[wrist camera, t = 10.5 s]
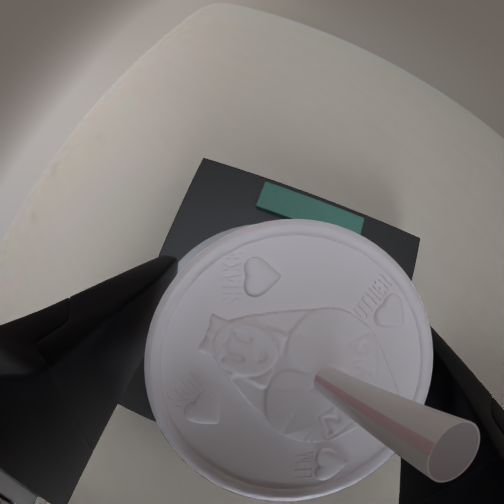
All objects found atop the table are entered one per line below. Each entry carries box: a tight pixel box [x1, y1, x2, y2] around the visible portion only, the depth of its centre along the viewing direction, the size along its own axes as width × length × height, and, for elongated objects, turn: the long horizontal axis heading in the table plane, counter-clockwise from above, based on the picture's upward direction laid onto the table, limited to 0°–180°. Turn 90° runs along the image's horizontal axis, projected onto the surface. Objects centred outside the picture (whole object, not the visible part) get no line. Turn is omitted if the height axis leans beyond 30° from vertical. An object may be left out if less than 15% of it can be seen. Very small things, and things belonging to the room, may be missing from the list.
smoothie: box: [144, 219, 480, 501], centre depth 9 cm, size 6×6×14 cm
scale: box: [118, 158, 420, 422], centre depth 17 cm, size 15×14×3 cm
